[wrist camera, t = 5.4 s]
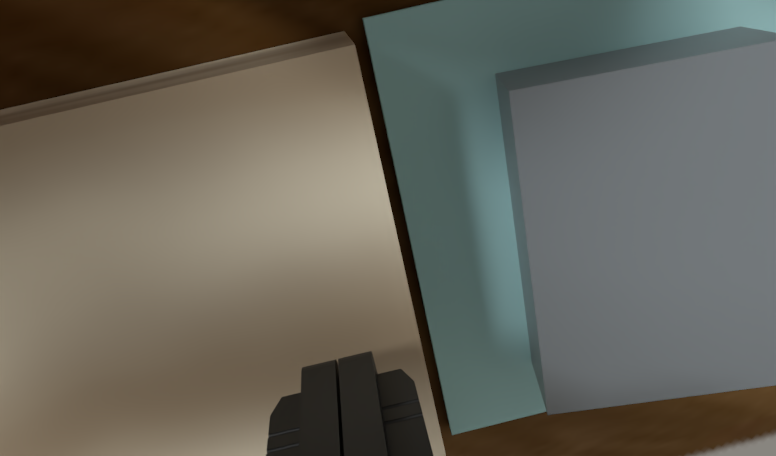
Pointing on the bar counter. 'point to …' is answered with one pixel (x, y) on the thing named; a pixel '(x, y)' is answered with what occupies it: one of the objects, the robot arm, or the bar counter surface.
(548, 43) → the mat
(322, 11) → the bar counter surface
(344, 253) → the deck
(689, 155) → the grey rectangular block
